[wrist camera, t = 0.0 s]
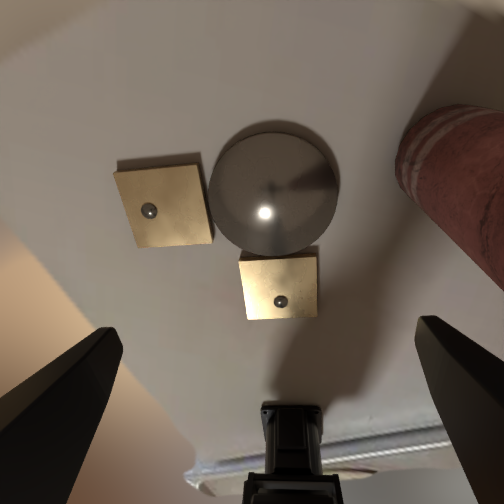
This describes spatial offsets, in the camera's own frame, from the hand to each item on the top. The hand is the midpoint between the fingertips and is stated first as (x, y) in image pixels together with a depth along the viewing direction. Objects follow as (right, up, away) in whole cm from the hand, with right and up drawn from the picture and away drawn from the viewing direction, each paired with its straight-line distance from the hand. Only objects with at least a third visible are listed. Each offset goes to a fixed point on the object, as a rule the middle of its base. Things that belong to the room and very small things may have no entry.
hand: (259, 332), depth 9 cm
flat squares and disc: (-2, +3, +15) cm, 16 cm away
